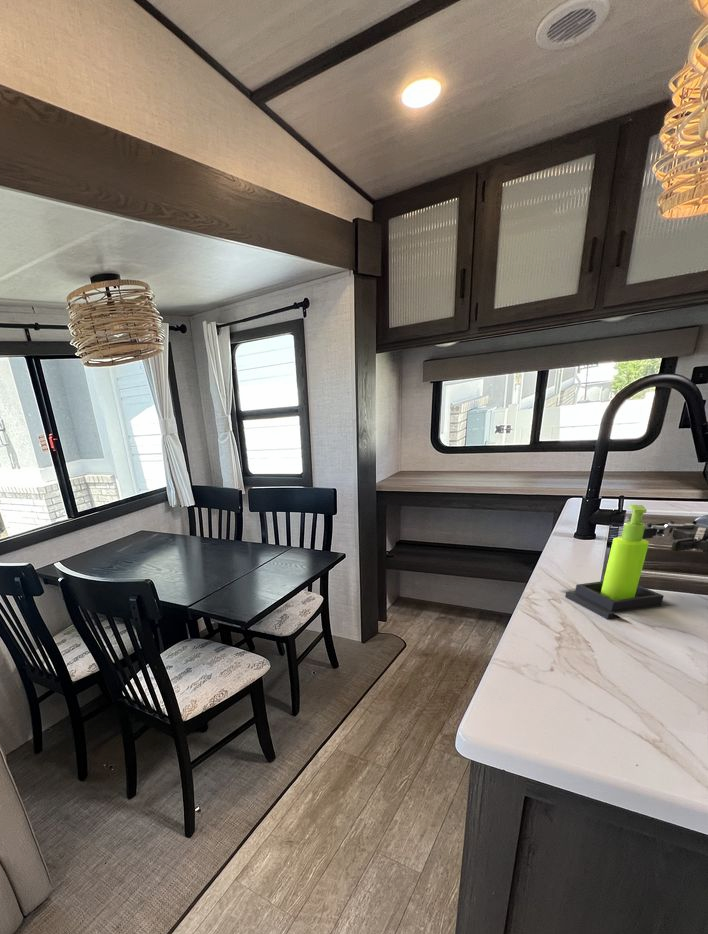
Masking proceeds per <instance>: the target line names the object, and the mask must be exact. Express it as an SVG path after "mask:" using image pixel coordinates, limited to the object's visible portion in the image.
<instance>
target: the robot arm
mask: <svg viewBox="0 0 708 934" xmlns="http://www.w3.org/2000/svg"><path fill="white" fill-rule="evenodd" d="M670 534H672V536H669V535H670ZM642 539H645V540H647V539H662V540H663V541H666V542H672V545H671V551H673V552H680V551H681V552H683V551H689V550H691V551H694V552H696V551H697V552H698V551H699V550H700V551H702V553H705V554H708V514H705V515H702V516H701V515H700V516H699V517H697V518H696V519H695V520H693V521H692V522H691V523H689V522H688V523H675V521H674V520H663V521H655V522H654V521H653V522H646V524H645V529H644V533H643V537H642Z"/></svg>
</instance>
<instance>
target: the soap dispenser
mask: <svg viewBox="0 0 708 934" xmlns="http://www.w3.org/2000/svg"><path fill="white" fill-rule="evenodd" d="M629 508H630V509H631V511H632V514H631V517H630V520H629V521H627V522H624V524H623V529H622V533H621V536H617V537H614V538H613V539H612V542H611V547H610V551H609V555H608V560H607V564H606V567H605V568H606V569H605V572H604V576H603V577H604V578H603V580H602V581H603V585H602V589H601V594H602V595H604V596H606V597H608V598H610V599H612V600H621V599H628V598H634V597H635V594H636V590H637V586H638V585H639V582H640V579H641V574H642V571H643V567H644V563H645V559H646V556H647V552H648V548H649V546H650V545H649V544H650V542H649V540H647V539H642V537H643V533H644V529H645V528H646V524H645V523H644V522H642V520H643V515H644V514H646V513H647V511H648V510H647V508H646V507H645V506H644V505H643V504H628V509H629Z"/></svg>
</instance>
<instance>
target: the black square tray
mask: <svg viewBox="0 0 708 934" xmlns="http://www.w3.org/2000/svg"><path fill="white" fill-rule="evenodd" d="M603 581H604V580H601V581H593V582H586V583H585V582H584V583H578V584H576V585H575V590H572V591H566V592H565V596H564V597H565V598H567V599H569V600H570V601H572V602H574V603H576V604H578V605H580V606H582V607H583V608H585V609H587V610H589V611H592V612H593V613H595V614H597V615H599V616H600V617H603V618H605V619H606V620H612V619H618V618H621V616H620V615H618V614H619V613H624V612H625V613H626V612H632V611H633V612H634V611H639V610H648V609H654V608H661V607H662V608H663V607H668V606H670V604H669V603H667V602H665V601H663V600H664V597H665V596H664V594H661V593H658V592H655V591H654V590H651V589H649V588H647V587H645V586H641V585H639V584H638V586H637V590H636V594H635V597H634V598H628V599H621V600H612V599H610V598H608V597H606V596H604V595H602V594H601V589H602V585H603ZM617 613H618V614H617Z"/></svg>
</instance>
